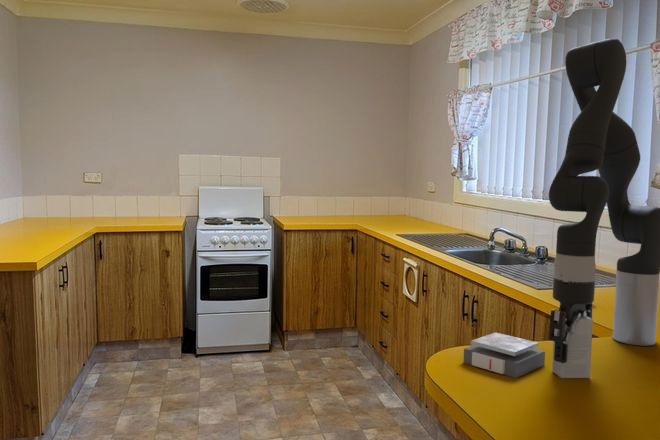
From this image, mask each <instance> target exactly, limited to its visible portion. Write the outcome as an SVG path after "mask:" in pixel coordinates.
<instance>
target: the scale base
mask: <svg viewBox="0 0 660 440" xmlns="http://www.w3.org/2000/svg"><path fill="white" fill-rule="evenodd" d="M545 361H546V351H545V350H542V349H538V348H534V349H531V350H529V351H526V352H524V353H521V354H519V355H516V356H512V355H509V354H505V353H501V352H498V351H494V350H490V349H486V348H483V347H479V346H475V345H471V346H468V347H465V348H463V363H464V364H468V365H471V366H474V367H477V368H481V369H484V370H487V371H490V372H494V373H497V374H501V375H505V376H507V377H510V378H513V379H518V378H520V377H522V376H524V375H526V374H528V373H531V372H532V371H535V370H537V369H538V368H541V367H543V366H545Z"/></svg>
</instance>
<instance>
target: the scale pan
mask: <svg viewBox="0 0 660 440" xmlns="http://www.w3.org/2000/svg"><path fill="white" fill-rule="evenodd" d="M470 345H471V346H473V345H475V346H479V347H483V348H486V349H490V350H494V351H498V352H501V353H505V354H509V355H512V356H516V355H519V354H521V353H524V352H526V351H529V350H531V349H534V348H535V349H537V348H539V342H537V341H533V340H530V339H529V340H528V339H524V338H521V337H516V336H512V335H508V334H503V333H501V332H497V331H495V332H493V333H489V334H487V335H484V336H480V337H478V338H474V339H472V340H470Z"/></svg>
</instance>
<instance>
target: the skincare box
mask: <svg viewBox="0 0 660 440" xmlns="http://www.w3.org/2000/svg"><path fill="white" fill-rule="evenodd" d="M593 322H594V320H593V318H592V319H591V318H589V317H587V316H586V317H580V320H579V322H578V323H577V325H576V328H575V331H574V334H572V335H570V337H569V340H568V343H567V344H568V350H567V362H565V363H561V362H557V361H555V360H554V352H555V342H554V341H552V342H553V343H552V368H551V369H552V372H553V373H554V374H555V375H556V376H557V377H559V378H560V379H591V373H592V372H591V371H592V369H591V368H592V365H591V364H592V345H593V344H592V343H593ZM565 327H566V328H569V327H568V326H567V325H566V324H565ZM555 331H556V330H555ZM555 331H554V334H555ZM564 336H565V334H564Z"/></svg>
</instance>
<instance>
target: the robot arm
mask: <svg viewBox="0 0 660 440" xmlns="http://www.w3.org/2000/svg"><path fill="white" fill-rule="evenodd" d="M564 59H565V62H564V65H565V70H566V71H565V72H566V75H567V79H568V81H569V82H568V83H569V84H570V88H571V90H572V92H573V96H574V98H575V99H576V102H577V105H578V108H579V110H580V113H578V116H577V117H576V118H575V119H574V121H573V123H572V125H571V127H570V129H569V133H568V136H567V140H566V141H567V142H566V149H565V153H564V157H563V161H562V163H561V165H560V166H559V168H558V170H557V172H556V174H555V176H554V178H553V180H552V181H551V184H550V187H549V190H548V200H549V203H550V205H551V206H552V208H553V209H554V210H557V211H560V212H576V213H586V214H585V216H584V218H583V219H582V220H580V221H576V222H571V223H564V224H561V225H559V226H558V227H557V233H556V247H555V248H556V249H555V250H556V251H555V258H554V264H553V280H552V298H553V299H554V300H555V301H557V302H559V308H558V309H551V312H550V319H549V330H548V331H549V333H548V340H549V341H552V342H553V341H554V342H555V352H554V360H555V361H557V362H561V363H565V362H567V350H568V344H567V343H568V340H569V337H570V335H572V334H574V331H575V328H576V325H577V323H578V322H579V320H580V317H586V316H587V317H589V318H591V319H593V305H594V304H593V303H594V301H595V290H596V289H595V287H596V286H595V285H596V270H597V268H596V267H597V266H596V245H597V244H596V243H597V233H598V230H599V229H598V228H599V224H600V221H601V218H602V216H603V212H604V209H605V207H606V206H607V207H606V208H607V212H608V218H609V223H610V224H609V225H610V227H611V230H612V231H611V232H612V234H613V236H614V238H615V239H616V240H617V241H620V242H622V243H628V244H638V245H640V247H639V251H638V252H636V253H635V254H632V255H627V256H623V257H619V258H618V259H617V262H616V275H615V291H614V292H615V293H614V310H613V322H612V323H613V324H612V326H613V328H612V339H613V340H615V341H616V342H620V343H623V344H628V345H634V346H641V347H643V346H644V347H645V346H646V347H647V346H654V345H655V344H656V341H657V340H656V336H657V326H658V325H657V324H658V310H659V309H658V308H659V307H658V306H659V292H660V291H659V290H660V207H658V206H646V205H645V206H644V205H631V203H630V201H629V197H628V189H629V186H630V184H631V182H632V180H633V178H634V176H635V175H636V172H637V171H638V167H639V165H640V163H641V152H640V148H639V145H638V140H637V136H636V134H635V131H634V130H633V128H632V127H631V126H630V125H629V123H628V122H626V121H625V120H624V119H623V118H621V117H620V116H619V115H617V113H615V112H614V109H615V106H616V104H617V100H618V97H619V94H620V91H621V87H622V84H623V82H624V78H625V74H626V70H627V54H626V50H625V47H624V45H623V43H622V41H621V40H620V39H618V38H613V37H612V38H606V39H603V40H598V41H595V42H594V41H593V42H591V43H587V44H586V43H585V44H583V45H579V46H576V47H573V48H571V49H569V50H568V51H567V53H566V55H565V58H564ZM595 87H598V88H597V90H596V88H595ZM594 171H598V173H599V176H598V175H583V174H587V173H591V172H594ZM565 324H566V325H567V326H568V327H569V328H566V327H565ZM555 330H556V331H555ZM554 331H555V334H554ZM564 334H565V336H564Z"/></svg>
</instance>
